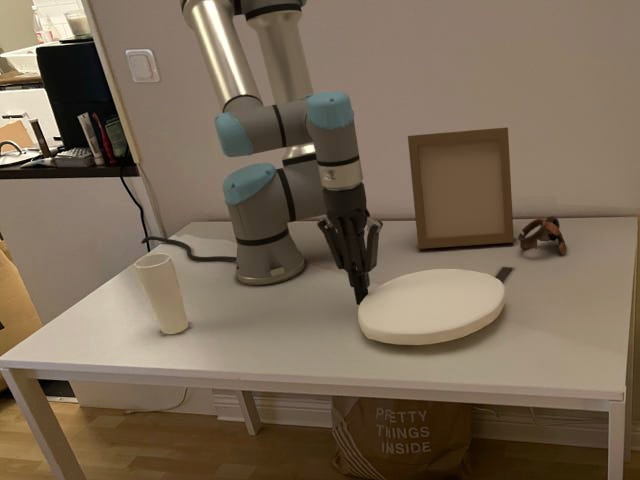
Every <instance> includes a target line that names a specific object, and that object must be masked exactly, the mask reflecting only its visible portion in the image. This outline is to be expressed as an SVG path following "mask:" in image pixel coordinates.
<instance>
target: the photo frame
mask: <svg viewBox="0 0 640 480" xmlns="http://www.w3.org/2000/svg"><path fill="white" fill-rule="evenodd" d="M509 138H510V137H509V127H508V126H507V127H495V128H484V129H483V128H482V129H472V130H471V129H470V130H460V131H447V132H436V133H435V132H434V133H424V134H412V135H411V134H410V135H407V143H408V144H407V145H408V153H409V164H410V176H411V185H412V186H411V187H412V193H413V194H412V196H413V205H414V216H415V226H416V238H417V247H418V248H417V249H418V250H420V249H421V250H422V249H423V250H424V249H434V248H437V249H438V248H449V247H450V248H451V247H465V246H479V245H493V244H495V245H496V244H507V243H515V235H514V217H513V215H514V214H513V197H512V178H511V160H510V159H511V158H510V157H511V156H510V139H509Z"/></svg>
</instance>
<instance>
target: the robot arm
mask: <svg viewBox="0 0 640 480" xmlns="http://www.w3.org/2000/svg"><path fill="white" fill-rule="evenodd" d="M307 1H308V0H179V2H180V4H179V5H180V10H181V13H182V16H183V19H184V22H185V24H186V26H188V28H189V29H190V30H191V31H192V32H194V35H195V38H196V40H197V43H198V47H199V49H200V52H201V55H202V58H203V61H204V64H205V67H206V71H207V73H208V76H209V79H210V82H211V85H212V88H213V91H214V94H215V97H216V100H217V103H218V105H219V108H220V111H221V112H220V113H221V114H217V115H216V116H215V117H214V119H213V120H214V121H213V122H214V127H215V131H216V135H217V138H218V141H219V144H220V147H221V150H222V153H223V154H224V156H226V157H228V158H238V157H247V156H248V157H249V156H252V155H255V154H261V153H266V152H270V151H274V150H278V149H283V148H285V152H284V154H283V156H282V157H281V163H282V167H280V168H277V167H275V166H274V164H273V163H271V162H261V163H259V162H258V163H253V164H250V165H246V166H244V167H241V168H239V169H237V170H235V171H233V172H232V173H230V174H229V175H228V176H226V178H225V179H224V180H223V182H222V192H223V195H224V204H225V205H226V206H227V210H228V214H229V218H230V222H231V227H232V230H233V233H234V238H235V240H236V245H237V247H236V256H229V255H228V256H226V255H224V256H223V255H220V256H219V255H217V256H198V255H194V254H192V250H191V247H190V245H188V244H187V243H185V242H182V241H180V240H176V239H170V238H166V237H165V238H164V237H161V236H153V235H152V236H146V237H144V238H143V239H142V240H141V243H140V244H142V245H144V244H146V243H147V242H148V241H158V242H162V243H168V244H173V245H177V246H181V247H183V248H185V249H186V255H187V257H188V258H189V259H191V260H194V261H200V262H201V261H203V262H207V261H208V262H209V261H232V262H236V263H235V272H236V277H237V279H238V281H240V282H241V283H242V284H245V285H249V286H267V285H273V284H278V283H281V282H284V281H287V280H290V279H292V278H294V277H296V276H297V275H299V274H300V273H301V272H302V271H303V270H304V269H305V267H306V264H305V263H306V262H305V258H304V255H303V254H302V252H301V251H300V250H299V248H298V246H297V244H296V242H295V241H294V239H293V237H292V236H291V234H290V229H289V225H288V224H289V223H293V222H296V221H304V220H307V219H311V218H317V217H320V216H324V215H325V217H323V218H322V219H321V220H319V221H317V222H316V225H317V227H318V228H319V230H320V231H321V233H322V234H323V236H324V238H325V240H326V243H327V245H328V248H329V250H330V253H331V255H332V258H333V260H334V263H335V266H336V267H337V269H338V270H344V271H345V272H346V273H347V276H348V282H349V286H350V287H351V288H353V292H354V293H353V294H354V298H355V303H356V305H357V306H359V305H360V303H361V302H362V300H363V299H364V298H365V296H366V295H368V294H369V289H368V288H369V287H370V285H371V281H370V275H369V273H370V272H371V271H372V270H374V269H375V268H376V267H377V264H378V252H379V240H380V232H381V230H382V228H383V226H384V223H383V221H381V220H375V219H373V218H372V217H371V213H370V211H369V210H368V208H367V194H366V189H365V188H366V187H365V184H364V182H363V180H364V175H363V169H362V161H361V158H360V151H359V145H358V137H357V132H356V125H355V111H354V110H353V106H352V102H351V98H350V95H349V94H348V93H347V92H344V91H337V90H333V91H331V90H330V91H324V92H318V93H314V88H313V85H312V80H311V76H310V72H309V68H308V63H307V58H306V55H305V50H304V46H303V42H302V38H301V33H300V29H299V22H300V20H301V19H302V17H303V10H302V8H304V6H306V5H307ZM236 16H244V18H245V22H246V25H247V26H248V27H250V28H251V29H253V30H254V32H255V33H256V34H257V38H258V43H259V47H260V50H261V54H262V55H261V56H262V59H263V62H264V66H265V70H266V74H267V78H268V82H269V87H270V90H271V94H272V98H273V102H274V104H271V105H270V104H269V105H264V103H263V99H262V97H261V94H260V91H259V89H258V86H257V83H256V81H255V78H254V75H253V73H252V70H251V67H250V65H249V62H248V59H247V56H246V53H245V51H244V48H243V45H242V43H241V40H240V38H239V34H238V32H237V30H236V29H237V28H236V27H235V24H234V22H233V21H234V18H235V17H236ZM365 228H366V230H367V232H368V233H367V236H366V241H365V235H366V231H365Z"/></svg>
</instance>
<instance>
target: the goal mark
mask: <svg viewBox="0 0 640 480" xmlns="http://www.w3.org/2000/svg"><path fill="white" fill-rule="evenodd" d="M512 270H513V267H507V266H503V267H502V268H501V269H500V270H499V272H498V273H497V275H496V276H494V277H495V278H497V279H499V280H500V281H501V282H502V283H503V282H504V281H505V280H506V278H507V277H508V276H509V274H510V273H511V272H512Z"/></svg>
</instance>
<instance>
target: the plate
mask: <svg viewBox="0 0 640 480" xmlns="http://www.w3.org/2000/svg"><path fill="white" fill-rule="evenodd" d="M495 277H496V276H493V275H491V274H489V273H485V272H480V271H476V270H468V269H461V268H436V269H435V268H434V269H426V270H421V271H416V272H412V273H408V274H404V275H400V276H398V277H396V278H393V279H390V280H388V281H387V282H384V283H383V284H381V285H379V286H377V287H375V288H374V289H372V290H371V291H370V292H368V295H366V296H365V298H364V299H363V300H362V302H361V303H360V305H358V309H357V321H358V326H359V327H360V329H361V331H362V333H363V334H364V335H365V337H367V338H368V339H370V340H373V341H377V342H380V343H384V344H392V345H401V346H402V345H407V346H424V345H434V344H438V343H439V344H440V343H444V342H450V341H454V340H457V339H460V338H461V339H462V338H463V337H466V336H469V335H471V334H473V333H475V332H477V331H479V330H481V329H484V328H485V327H487V326H488V325H490V324H491V323H492V322H494V321H495V320H496V319H497V318H498V317H499V315H500V314H501V312H502V311H503V309H504V306H505V303H506V299H507V298H506V297H507V296H506V287H505V284H503V282H501V281H500V280H499V279H497V278H495Z"/></svg>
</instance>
